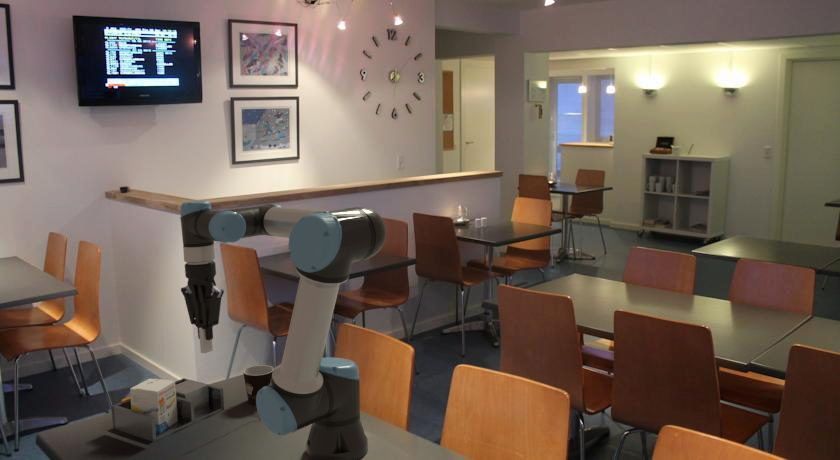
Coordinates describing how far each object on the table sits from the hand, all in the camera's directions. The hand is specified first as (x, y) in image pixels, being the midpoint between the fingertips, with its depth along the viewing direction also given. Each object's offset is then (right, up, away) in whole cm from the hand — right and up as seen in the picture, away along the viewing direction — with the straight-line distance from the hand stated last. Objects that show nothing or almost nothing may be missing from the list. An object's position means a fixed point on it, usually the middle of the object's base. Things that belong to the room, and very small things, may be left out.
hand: (206, 351), depth 190 cm
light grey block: (-10, -19, +16) cm, 27 cm away
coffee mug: (+10, -19, +21) cm, 30 cm away
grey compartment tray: (-13, -21, +11) cm, 27 cm away
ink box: (-15, -21, +6) cm, 27 cm away
